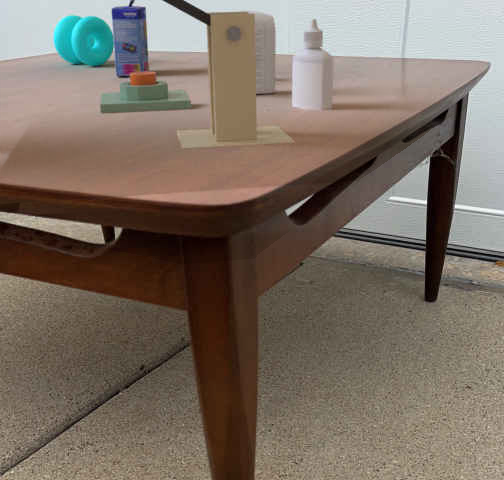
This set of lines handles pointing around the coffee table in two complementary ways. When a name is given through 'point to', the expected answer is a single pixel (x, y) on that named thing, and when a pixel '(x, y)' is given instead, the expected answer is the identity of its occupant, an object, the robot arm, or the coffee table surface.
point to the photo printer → (264, 52)
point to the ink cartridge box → (130, 39)
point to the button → (143, 78)
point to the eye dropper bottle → (312, 73)
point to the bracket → (232, 88)
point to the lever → (191, 10)
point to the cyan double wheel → (83, 40)
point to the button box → (144, 98)
